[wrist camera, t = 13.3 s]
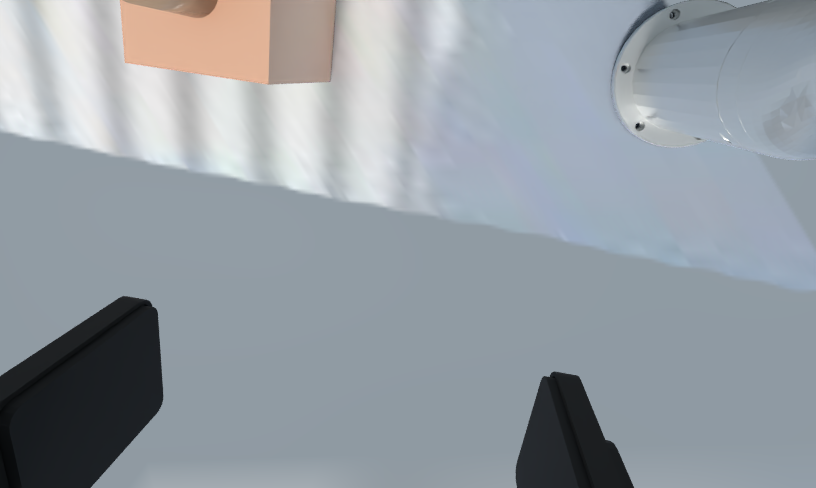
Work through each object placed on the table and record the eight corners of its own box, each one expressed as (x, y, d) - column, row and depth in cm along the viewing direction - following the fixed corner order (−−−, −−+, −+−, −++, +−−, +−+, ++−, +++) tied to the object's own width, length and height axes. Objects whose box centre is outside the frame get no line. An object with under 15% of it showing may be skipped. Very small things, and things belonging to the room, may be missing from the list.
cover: (338, -33, 42) (224, -139, 21) (330, 81, 45) (225, 86, 25) (233, -48, 42) (21, -165, 22) (233, 67, 46) (51, 59, 25)
